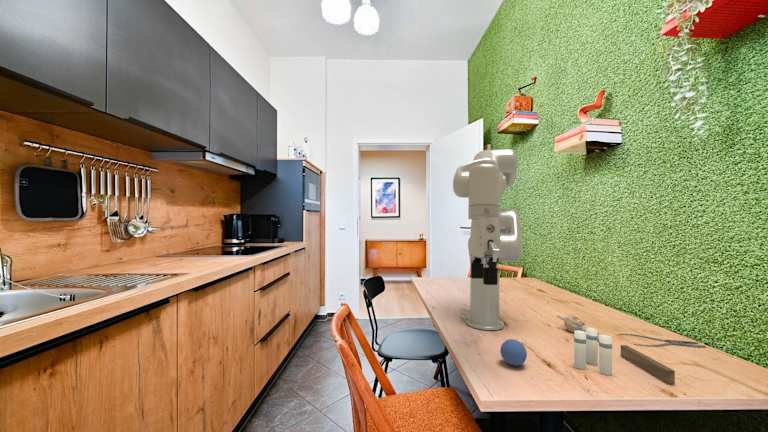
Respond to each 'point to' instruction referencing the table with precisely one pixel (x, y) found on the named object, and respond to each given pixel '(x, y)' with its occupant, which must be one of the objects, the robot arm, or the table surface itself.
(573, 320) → the toy
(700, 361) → the table surface
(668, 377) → the bar
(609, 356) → the pin back right
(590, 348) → the pin back left
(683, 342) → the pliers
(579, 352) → the pin front
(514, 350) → the ball
